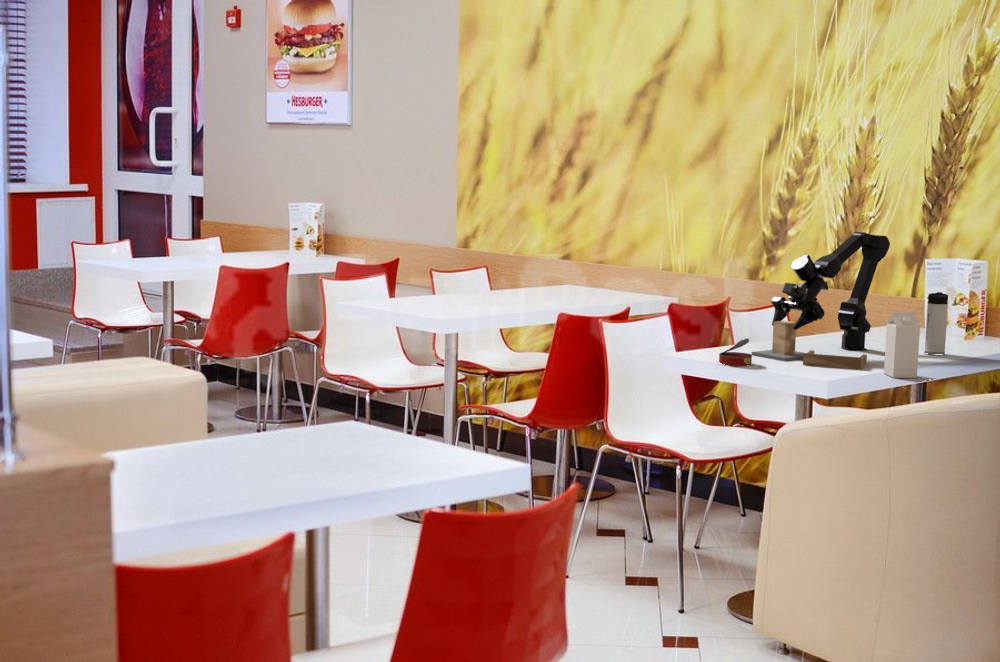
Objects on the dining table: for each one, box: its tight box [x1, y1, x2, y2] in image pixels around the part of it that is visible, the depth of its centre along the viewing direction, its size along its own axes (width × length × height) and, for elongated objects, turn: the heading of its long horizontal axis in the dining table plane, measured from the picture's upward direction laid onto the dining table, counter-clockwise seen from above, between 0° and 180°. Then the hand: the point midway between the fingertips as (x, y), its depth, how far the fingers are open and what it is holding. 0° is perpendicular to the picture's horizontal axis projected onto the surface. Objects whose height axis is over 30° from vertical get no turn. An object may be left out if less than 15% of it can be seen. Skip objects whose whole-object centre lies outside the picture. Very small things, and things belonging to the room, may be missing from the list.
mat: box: [751, 349, 805, 362], centre depth 407 cm, size 14×14×1 cm
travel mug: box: [924, 291, 949, 355], centre depth 417 cm, size 6×7×20 cm
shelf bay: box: [802, 349, 868, 370], centre depth 393 cm, size 12×17×4 cm
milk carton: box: [883, 310, 921, 379], centre depth 372 cm, size 7×7×19 cm
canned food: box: [718, 337, 753, 367], centre depth 391 cm, size 11×10×10 cm
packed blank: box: [771, 320, 797, 355], centre depth 407 cm, size 5×5×10 cm
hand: (783, 327), depth 406 cm, fingers open, 9 cm apart
